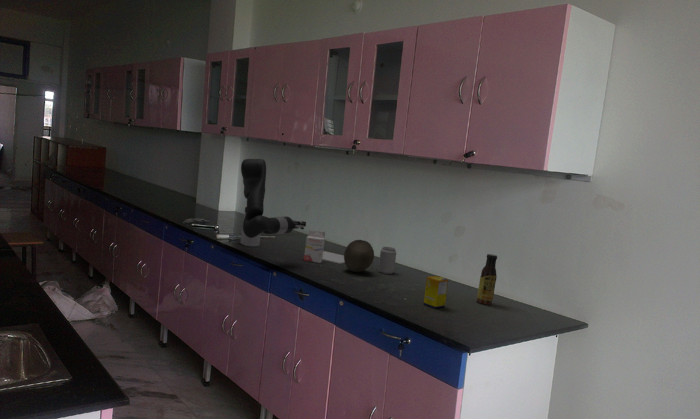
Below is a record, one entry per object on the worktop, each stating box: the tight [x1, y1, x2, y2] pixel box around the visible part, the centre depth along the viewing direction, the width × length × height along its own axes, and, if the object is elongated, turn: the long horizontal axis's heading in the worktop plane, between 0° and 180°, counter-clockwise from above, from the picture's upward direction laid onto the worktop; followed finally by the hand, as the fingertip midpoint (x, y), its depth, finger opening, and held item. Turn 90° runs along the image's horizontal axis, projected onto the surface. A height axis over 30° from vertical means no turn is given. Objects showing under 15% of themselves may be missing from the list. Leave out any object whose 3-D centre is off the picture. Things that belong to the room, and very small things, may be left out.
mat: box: [303, 250, 345, 265], centre depth 276 cm, size 22×18×1 cm
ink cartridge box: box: [303, 229, 326, 264], centre depth 262 cm, size 9×5×15 cm, turn 84°
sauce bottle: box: [476, 253, 498, 306], centre depth 216 cm, size 7×6×20 cm
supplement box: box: [423, 275, 449, 309], centre depth 204 cm, size 6×6×11 cm
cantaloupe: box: [343, 239, 375, 273], centre depth 247 cm, size 14×14×15 cm
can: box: [377, 246, 397, 275], centre depth 254 cm, size 8×8×12 cm
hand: (304, 223), depth 252 cm, fingers closed
